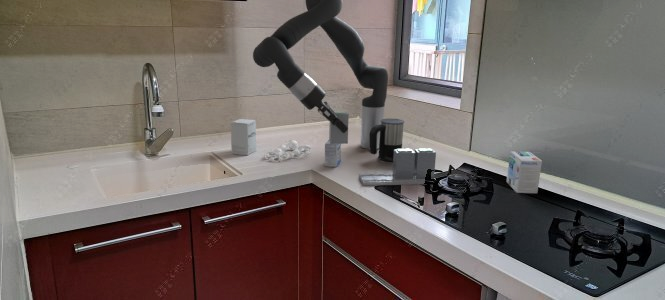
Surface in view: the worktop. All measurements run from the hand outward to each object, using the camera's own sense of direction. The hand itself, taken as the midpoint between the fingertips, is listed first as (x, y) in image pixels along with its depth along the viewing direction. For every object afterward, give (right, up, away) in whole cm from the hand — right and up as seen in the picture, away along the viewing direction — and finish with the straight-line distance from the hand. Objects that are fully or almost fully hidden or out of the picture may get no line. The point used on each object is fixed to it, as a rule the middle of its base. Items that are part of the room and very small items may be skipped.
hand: (344, 129), depth 151 cm
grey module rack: (+17, -17, +7) cm, 25 cm away
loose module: (-2, -4, +1) cm, 5 cm away
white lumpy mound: (-21, -9, +33) cm, 40 cm away
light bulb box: (+57, -19, +3) cm, 60 cm away
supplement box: (-39, -8, +36) cm, 53 cm away
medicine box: (-4, -12, +24) cm, 27 cm away
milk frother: (+19, -11, +28) cm, 36 cm away
